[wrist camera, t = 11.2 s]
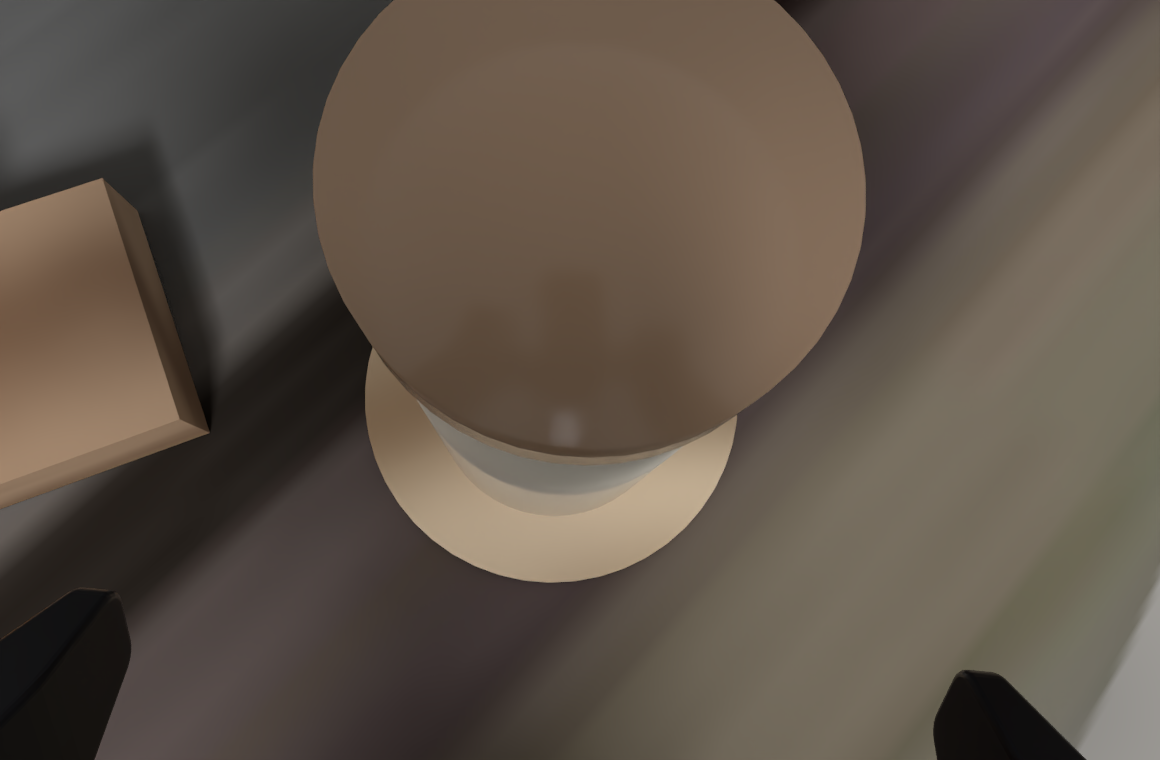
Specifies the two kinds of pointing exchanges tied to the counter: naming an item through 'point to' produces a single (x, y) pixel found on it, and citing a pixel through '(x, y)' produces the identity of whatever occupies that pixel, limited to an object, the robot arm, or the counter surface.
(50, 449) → the tile
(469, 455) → the jar
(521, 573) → the coaster
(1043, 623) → the counter surface
